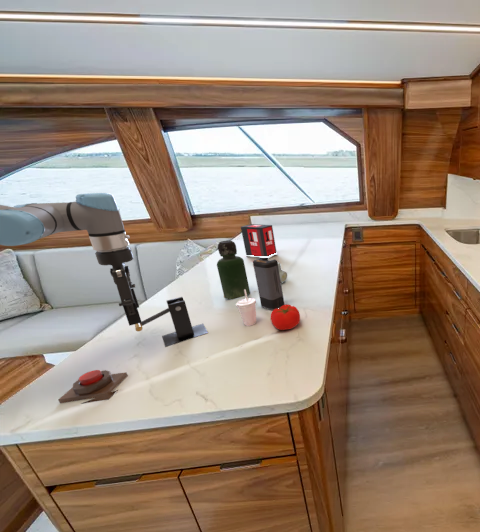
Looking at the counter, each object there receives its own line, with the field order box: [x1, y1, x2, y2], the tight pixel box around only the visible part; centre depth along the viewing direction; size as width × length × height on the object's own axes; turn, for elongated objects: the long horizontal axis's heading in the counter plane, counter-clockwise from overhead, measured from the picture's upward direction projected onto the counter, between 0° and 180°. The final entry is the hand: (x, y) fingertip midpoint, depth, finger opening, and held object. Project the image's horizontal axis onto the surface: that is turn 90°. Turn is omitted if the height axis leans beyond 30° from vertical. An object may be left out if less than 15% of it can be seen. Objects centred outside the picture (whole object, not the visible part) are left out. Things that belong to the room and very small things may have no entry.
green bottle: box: [216, 240, 251, 300], centre depth 131 cm, size 10×10×25 cm
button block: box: [57, 369, 129, 405], centre depth 77 cm, size 10×8×4 cm
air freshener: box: [277, 261, 288, 284], centre depth 147 cm, size 11×8×10 cm
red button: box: [78, 369, 103, 386], centre depth 76 cm, size 4×4×2 cm
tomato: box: [270, 303, 301, 331], centre depth 107 cm, size 10×11×6 cm
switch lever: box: [134, 300, 180, 332], centre depth 95 cm, size 13×6×2 cm, turn 133°
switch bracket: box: [161, 296, 209, 348], centre depth 100 cm, size 12×9×14 cm
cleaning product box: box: [240, 223, 277, 256], centre depth 191 cm, size 16×9×20 cm, turn 72°
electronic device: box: [252, 258, 285, 311], centre depth 120 cm, size 9×6×20 cm, turn 59°
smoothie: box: [235, 289, 257, 327], centre depth 106 cm, size 6×6×14 cm
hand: (134, 315), depth 91 cm, fingers open, 13 cm apart
